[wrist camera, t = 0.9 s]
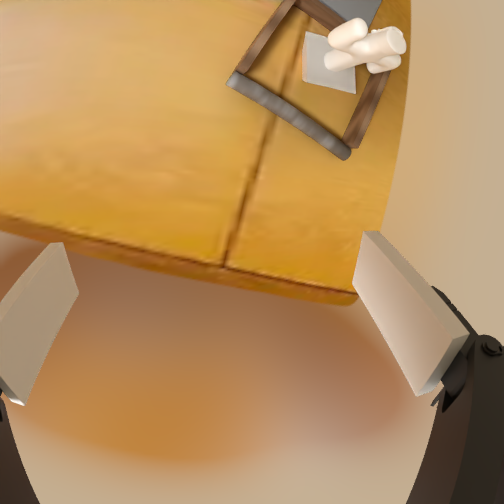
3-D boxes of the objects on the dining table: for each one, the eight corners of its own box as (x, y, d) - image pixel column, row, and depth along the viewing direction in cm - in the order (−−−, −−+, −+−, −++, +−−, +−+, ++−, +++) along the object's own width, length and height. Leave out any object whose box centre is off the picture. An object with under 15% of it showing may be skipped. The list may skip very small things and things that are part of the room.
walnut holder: (338, 160, 37) (352, 161, 34) (223, 86, 29) (231, 79, 26) (379, 68, 35) (393, 65, 32) (287, -5, 27) (297, -14, 24)
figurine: (345, 99, 34) (431, 85, 21) (284, 87, 31) (364, 55, 18) (343, 54, 32) (423, 28, 19) (284, 38, 29) (357, -9, 16)
